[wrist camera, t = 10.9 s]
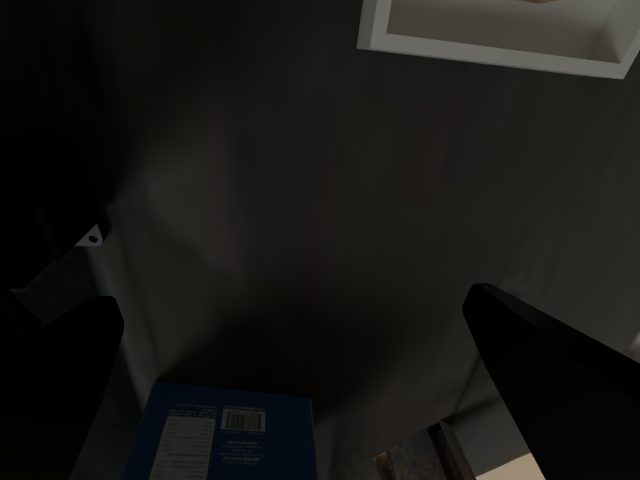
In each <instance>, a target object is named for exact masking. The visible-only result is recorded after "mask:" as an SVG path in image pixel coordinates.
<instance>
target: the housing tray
mask: <svg viewBox="0 0 640 480" xmlns="http://www.w3.org/2000/svg"><path fill="white" fill-rule="evenodd" d="M357 49H365V50H373V51H382V52H390V53H398V54H407V55H415V56H423V57H431V58H440V59H448V60H456V61H465V62H473V63H481V64H490V65H498V66H506V67H514V68H523V69H531V70H539V71H548V72H556V73H564V74H573V75H581V76H592V77H604V78H615V79H624V77H625V75H626V73H627V71H628V70H629V68H630V66H631V64H632V62H633V61H634V59H635V57H636V55H637V54H638V52H639V50H640V0H558V1H552V2H547V3H541V4H537V3H531V2H524V1H518V0H363V5H362V12H361V19H360V26H359V34H358V41H357Z"/></svg>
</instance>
